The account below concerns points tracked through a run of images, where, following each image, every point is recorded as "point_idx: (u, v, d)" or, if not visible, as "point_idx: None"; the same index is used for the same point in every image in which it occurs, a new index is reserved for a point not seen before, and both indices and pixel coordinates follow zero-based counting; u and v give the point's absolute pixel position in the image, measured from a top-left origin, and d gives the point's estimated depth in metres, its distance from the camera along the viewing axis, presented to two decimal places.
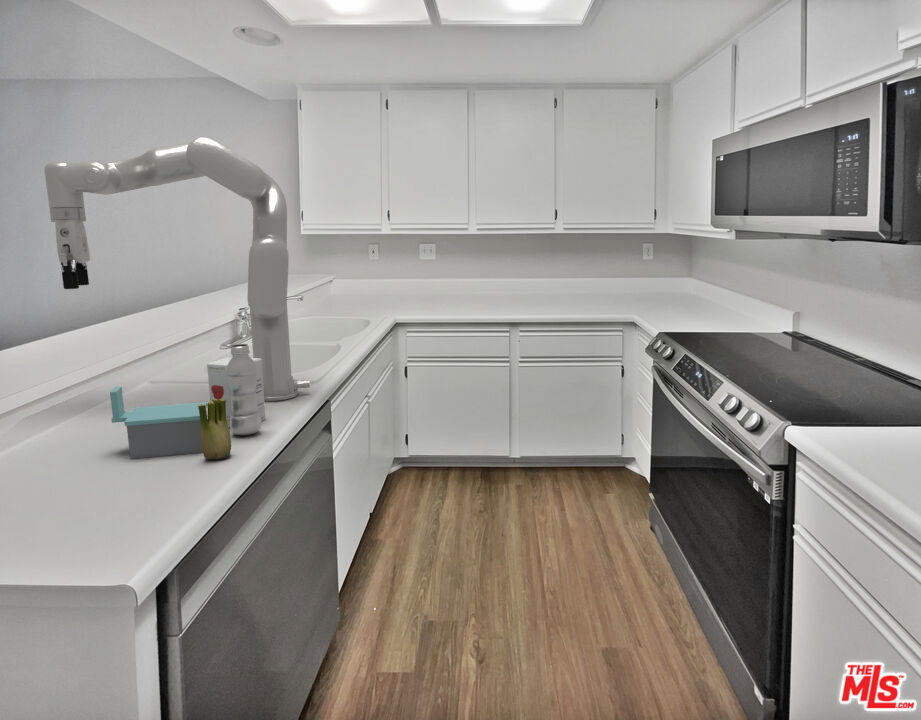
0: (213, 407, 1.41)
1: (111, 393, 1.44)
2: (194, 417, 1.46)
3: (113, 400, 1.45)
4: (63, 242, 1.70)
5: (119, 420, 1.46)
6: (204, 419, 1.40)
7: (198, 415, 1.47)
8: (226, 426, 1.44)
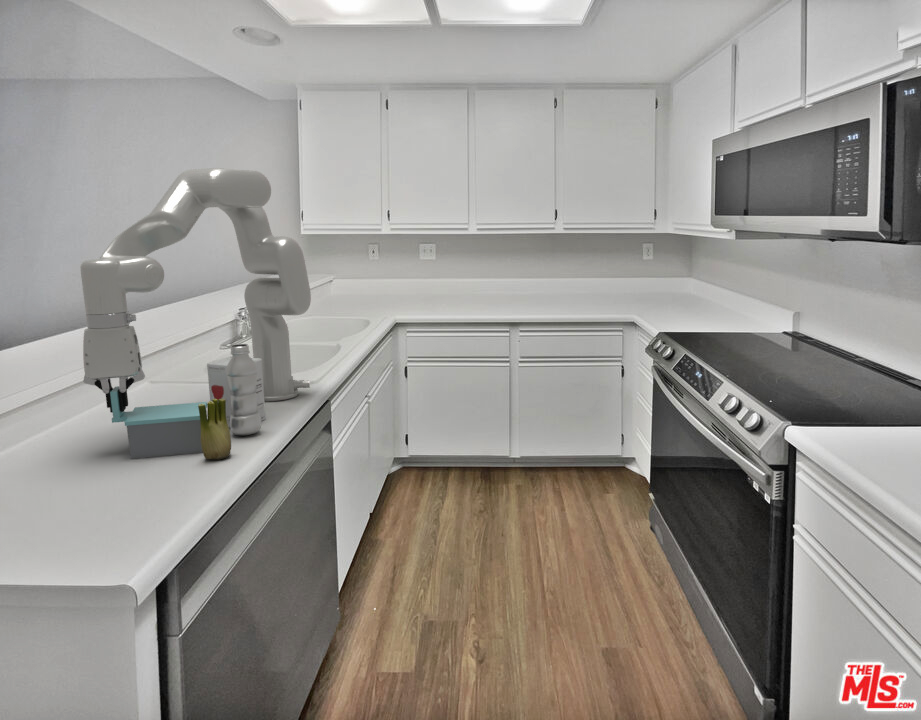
0: (213, 407, 1.41)
1: (111, 393, 1.45)
2: (194, 417, 1.46)
3: (113, 400, 1.45)
4: (137, 350, 1.46)
5: (119, 420, 1.46)
6: (204, 419, 1.40)
7: (198, 415, 1.47)
8: (226, 426, 1.44)
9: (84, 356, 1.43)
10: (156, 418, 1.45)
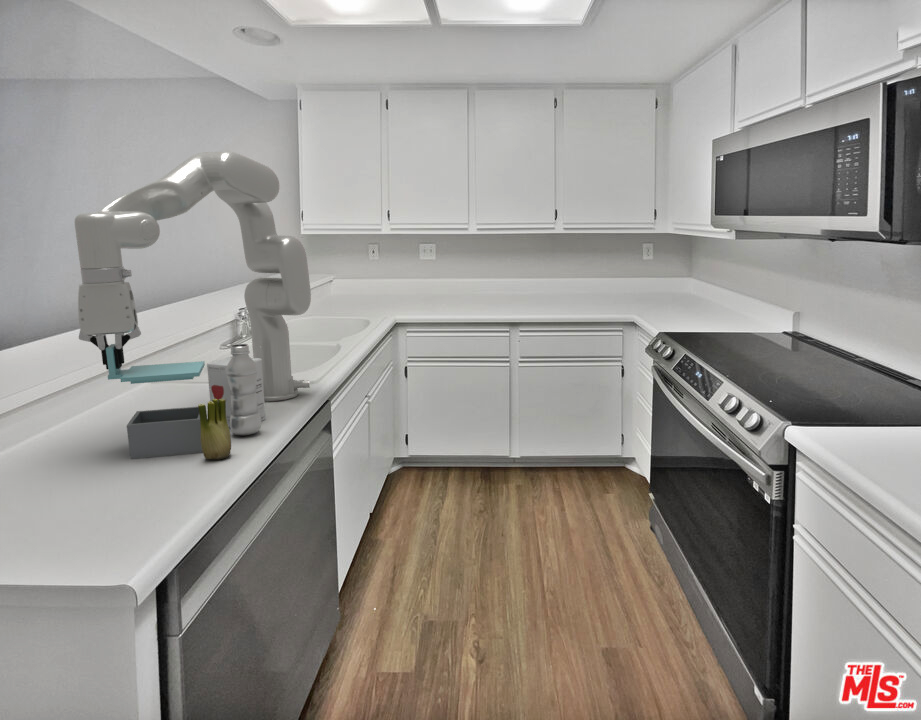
0: (213, 407, 1.41)
1: (107, 349, 1.43)
2: (191, 374, 1.45)
3: (109, 357, 1.43)
4: (133, 306, 1.44)
5: (115, 377, 1.44)
6: (204, 419, 1.41)
7: (195, 372, 1.45)
8: (226, 426, 1.44)
9: (79, 311, 1.41)
10: (152, 375, 1.43)
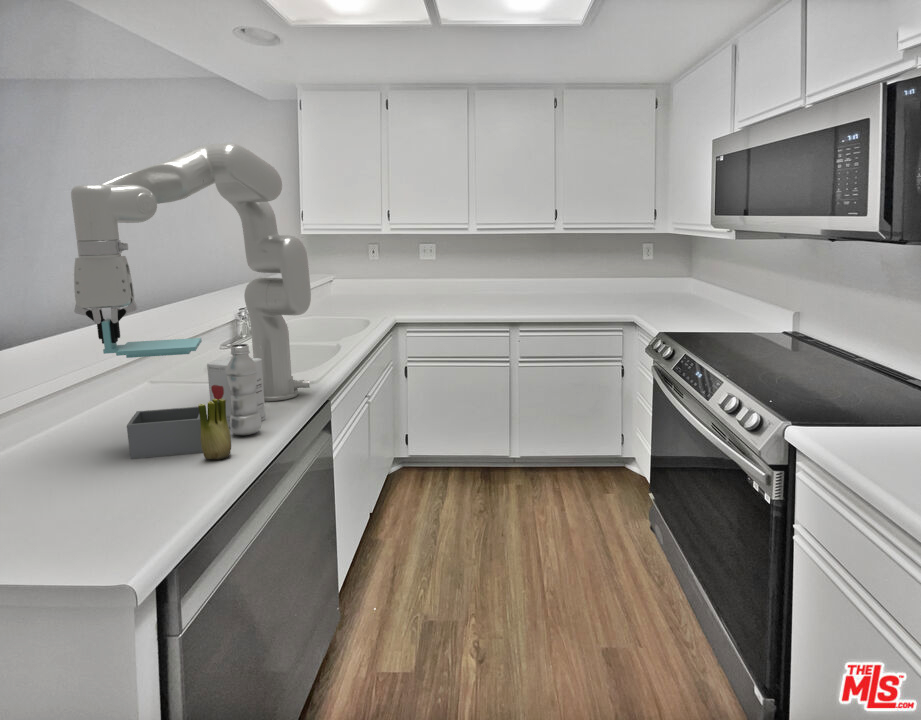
0: (213, 407, 1.41)
1: (103, 323, 1.42)
2: (187, 348, 1.43)
3: (105, 330, 1.42)
4: (129, 280, 1.43)
5: (111, 351, 1.43)
6: (204, 419, 1.41)
7: (191, 346, 1.44)
8: (226, 426, 1.44)
9: (75, 284, 1.40)
10: (148, 349, 1.42)
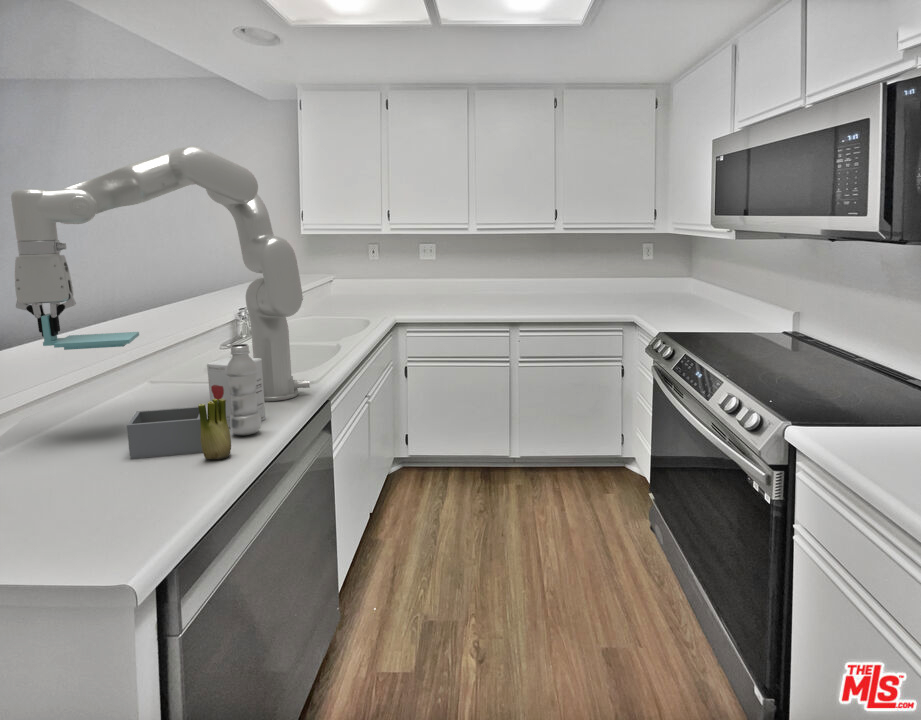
0: (213, 407, 1.41)
1: (42, 317, 1.52)
2: (121, 341, 1.54)
3: (44, 324, 1.53)
4: (67, 277, 1.54)
5: (50, 343, 1.54)
6: (204, 419, 1.41)
7: (125, 339, 1.55)
8: (226, 426, 1.44)
9: (15, 281, 1.50)
10: (85, 341, 1.53)
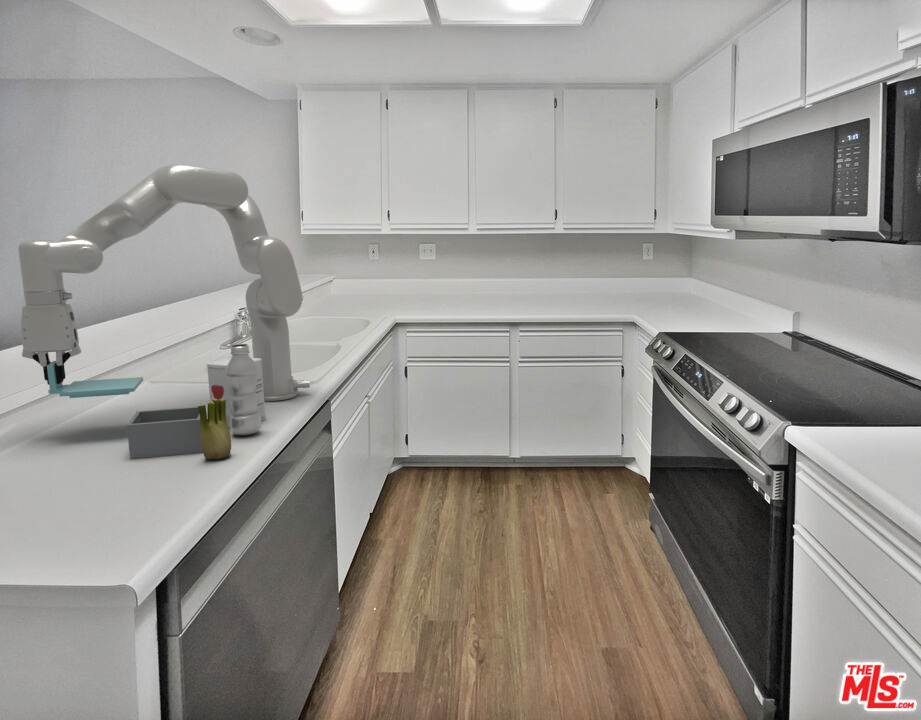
0: (213, 407, 1.41)
1: (48, 366, 1.54)
2: (126, 389, 1.56)
3: (50, 373, 1.55)
4: (73, 326, 1.56)
5: (56, 392, 1.56)
6: (204, 419, 1.41)
7: (130, 387, 1.57)
8: (226, 426, 1.44)
9: (22, 331, 1.53)
10: (90, 390, 1.55)
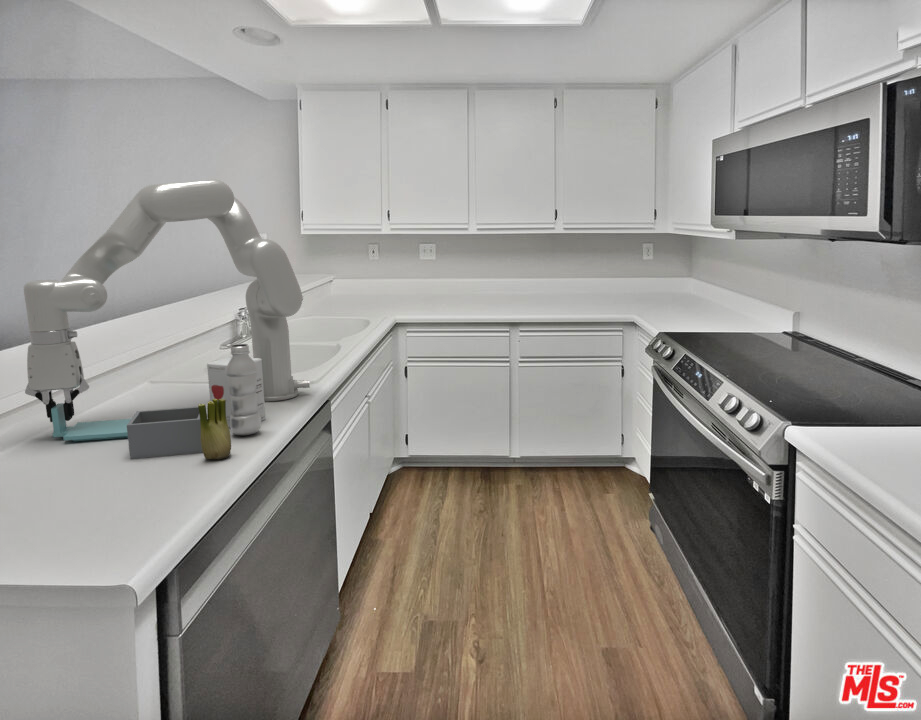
0: (213, 407, 1.41)
1: (52, 410, 1.56)
2: None
3: (54, 417, 1.57)
4: (78, 364, 1.58)
5: (60, 435, 1.58)
6: (204, 419, 1.41)
7: None
8: (226, 426, 1.44)
9: (28, 370, 1.54)
10: (93, 433, 1.57)
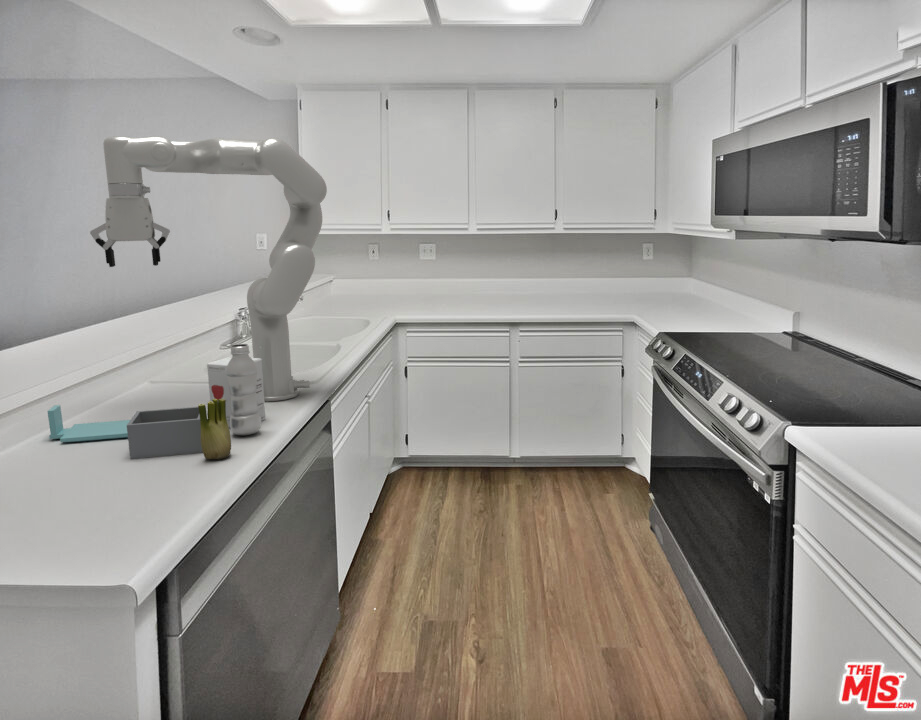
0: (213, 407, 1.41)
1: (48, 412, 1.56)
2: (126, 434, 1.58)
3: (51, 418, 1.57)
4: (151, 218, 1.71)
5: (56, 437, 1.58)
6: (204, 419, 1.41)
7: None
8: (226, 426, 1.44)
9: (106, 220, 1.67)
10: (90, 435, 1.57)
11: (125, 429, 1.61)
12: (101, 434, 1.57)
